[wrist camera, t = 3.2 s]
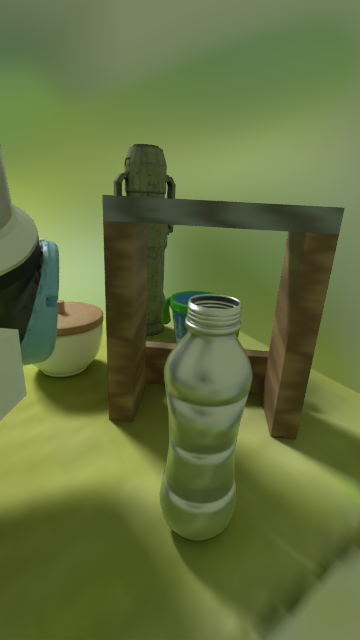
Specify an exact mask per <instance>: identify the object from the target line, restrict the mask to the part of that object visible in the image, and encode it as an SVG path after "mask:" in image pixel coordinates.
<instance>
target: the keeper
mask: <svg viewBox="0 0 360 640" xmlns="http://www.w3.org/2000/svg"><path fill="white" fill-rule="evenodd" d="M343 213H344V208H338V207H319V206H300V205H282V204H281V205H280V204H262V203H244V202H226V201H206V200H188V199H169V198H150V197H132V196H113V195H103V226H104V259H105V260H104V261H105V292H106V293H105V296H106V330H107V364H108V399H109V420H119V421H128V422H133V419H134V417H135V414H136V411H137V409H138V406H139V403H140V400H141V398H142V395H143V392H144V390H145V382H146V383H156V384H165V382H164V367H165V364H166V361H167V358H168V356H169V354H170V353H171V351H172V350H173V349H174V347H175V346H176V345H177V344H176V343H164V342H153V341H146V300H147V235H148V223H155V224H171V225H190V226H205V227H223V228H239V229H240V228H241V229H256V230H274V231H288V235H287V242H286V249H285V254H284V261H283V268H282V273H281V280H280V286H279V292H278V299H277V306H276V311H275V317H274V324H273V331H272V337H271V344H270V349H269V351H257V350H246V349H244V350H245V352H246V354H247V356H248V358H249V360H250V364H251V369H252V374H253V377H252V382H251V387H250V391H249V392H250V393H261V394H262V403H263V407H264V411H265V415H266V420H267V424H268V428H269V432H270V436H272V437H281V438H291V439H296V436H297V431H298V426H299V421H300V417H301V412H302V407H303V402H304V398H305V393H306V388H307V384H308V379H309V374H310V369H311V365H312V359H313V355H314V350H315V346H316V340H317V336H318V331H319V327H320V322H321V317H322V312H323V308H324V303H325V298H326V293H327V289H328V284H329V279H330V274H331V269H332V265H333V259H334V255H335V251H336V246H337V241H338V236H339V232H340V226H341V222H342V218H343Z"/></svg>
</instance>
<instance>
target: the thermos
mask: <svg viewBox="0 0 360 640" xmlns="http://www.w3.org/2000/svg"><path fill="white" fill-rule="evenodd" d="M166 167H167V166H166V161H165V157H164V153H163V150H162V149H160V148H159V147H158V146H155V145H148V144H135V145H133V147H129V150H128V153H127V157H126V160H125V172H124V173H122V174H119V175H118V176H117V177H116V179H115V181H114V196H122V181H123V179H125V191H126V196H132V197H150V198H165V197H164V196H165V193H166V182H167V184H168V192H167V198H169V199H175V183H174V181H173V179H172V177H169V176H168V175H166ZM171 232H173V225H171V224H155V223H148V235H147V300H146V336H152V335H156V334H159V333H161V332H162V331H163V330H164V325H163V323H162V321H161V314H162V309H163V305H164V303H165V296H164V293H163V280H164V251H165V248H166V246H167V235H169V233H171Z"/></svg>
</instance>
